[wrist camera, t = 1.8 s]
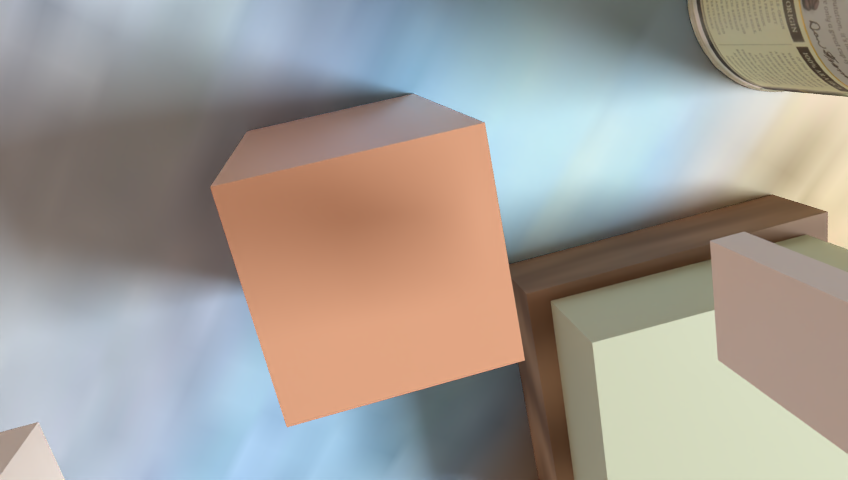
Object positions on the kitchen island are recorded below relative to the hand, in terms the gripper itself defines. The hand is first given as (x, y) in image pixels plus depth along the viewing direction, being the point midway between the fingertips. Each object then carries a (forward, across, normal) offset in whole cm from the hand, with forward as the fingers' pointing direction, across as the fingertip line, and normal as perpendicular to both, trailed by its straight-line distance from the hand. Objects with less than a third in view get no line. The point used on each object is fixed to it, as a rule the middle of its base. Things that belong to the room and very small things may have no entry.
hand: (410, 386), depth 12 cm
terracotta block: (+16, 0, 0) cm, 16 cm away
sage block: (+13, +13, -11) cm, 21 cm away
